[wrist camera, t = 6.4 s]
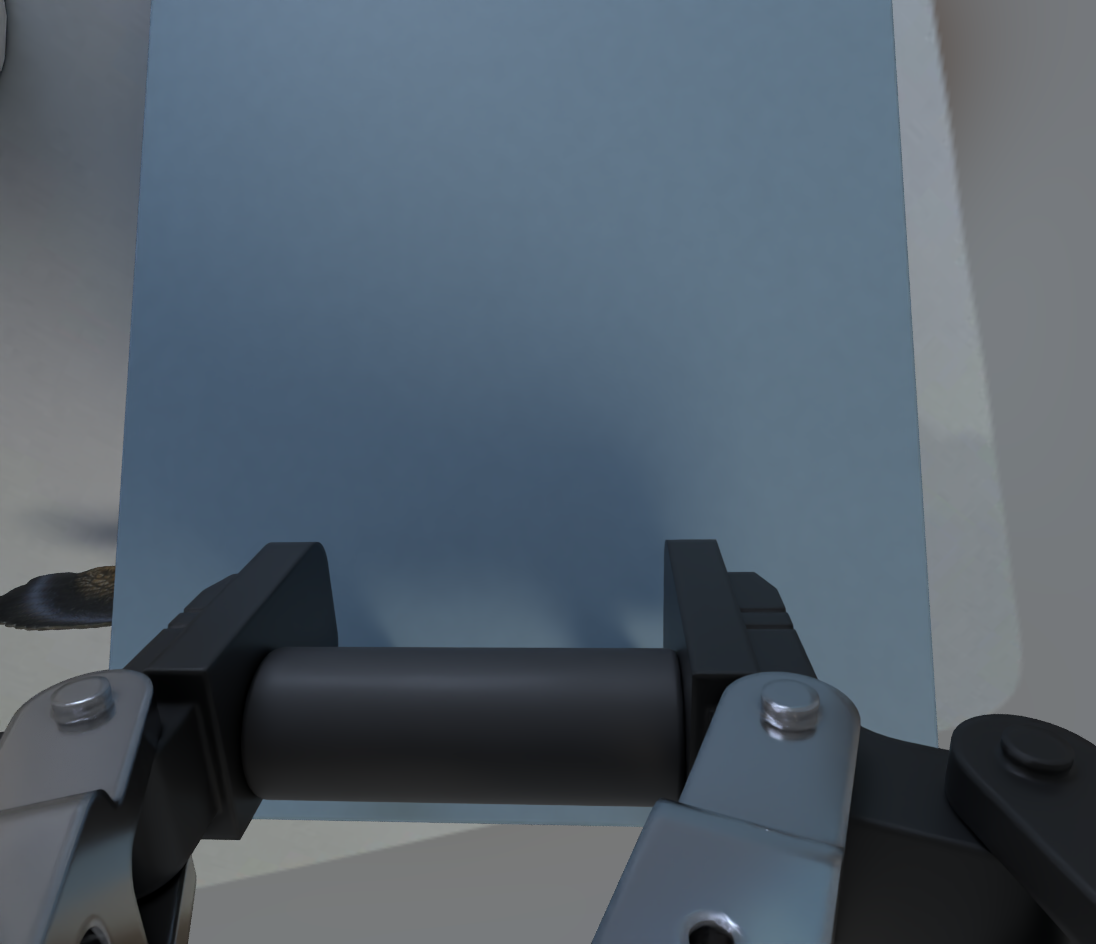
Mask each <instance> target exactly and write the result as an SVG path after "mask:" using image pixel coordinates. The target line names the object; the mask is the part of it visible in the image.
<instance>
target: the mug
mask: <svg viewBox="0 0 1096 944" xmlns="http://www.w3.org/2000/svg"><path fill="white" fill-rule="evenodd" d="M6 24H7V14H6V9H5V3H4V0H0V72H1V69H2V66H3V63H4V60H5V43H6Z"/></svg>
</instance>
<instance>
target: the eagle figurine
mask: <svg viewBox="0 0 1096 944" xmlns="http://www.w3.org/2000/svg"><path fill="white" fill-rule="evenodd" d="M115 567H116V566H104V567H98V568H94V569H91V570H88V571H85V572H82V573H71V572H67V573H55V574H48V575H44V576H39V577H36V578H33V579H31V580H30V581H29V582H28V583H27V584H26V585H22V586H20V587H17V588H14V589H13V590H11V591H9V592H8V593H6V594H5V595H3V596H0V625H4V624H5V626H6V627H15V629H25V630H27V631H31V630H38V631H43V630H64V629H73V628H74V629H87V628H99V627H107V626H112V615H113V599H114V583H115Z"/></svg>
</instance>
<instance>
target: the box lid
mask: <svg viewBox="0 0 1096 944" xmlns="http://www.w3.org/2000/svg"><path fill="white" fill-rule="evenodd" d="M679 539H716V541H717V543H718V546H719V549H720V552H721V555H722V558H723V561H724V564H725V567H726V570H727V572H755V573H757V574H758V575H759V576H761V577H762V578H763V579H765V580H766V581H767V582H769V583H770V584H771V585H773V586H774V587H775V588H777V590H778V592H779V594H780V597H781V599H782V601H783V603H784V605H785V608H786V612H788V614H789V616H790V619H791V621H792V623H793V628H794V629H795V630H796V632H797V634H798V636H799V638H800V641H801V643H802V645H803V647H804V649H805V652H806V654H807V656H808V658H809V660H810V663H811V665H812V667H813V669H814V672H815V674H816V676H817V678H818V680H821V681H823V682H825V683H828V684H830V685H832V686H833V687H835V688H837V689H838V690H840V691H841V692H842V693H844V694H845V695H846V696H847V697H848V698H849V699H850V700H851V701H852V702H853V703H854V704H855V706H856V708H857V709H858V711H859V714H860V717H861V726H862V727H864V728H867V729H869V730H871V731H873V732H876V733H879V734H882V735H884V736H887V737H891V738H895V739H899V740H903V741H907V742H912V743H917V744H921V745H926V746H931V747H936V748H938V733H937V717H936V701H935V685H934V669H933V653H932V637H931V621H930V605H929V589H928V572H927V556H926V540H925V524H924V508H923V492H922V476H921V460H920V444H919V428H918V412H917V395H916V379H915V363H914V347H913V331H912V315H911V299H910V283H909V267H908V251H907V234H906V218H905V202H904V186H903V170H902V154H901V138H900V122H899V106H898V90H897V74H896V57H895V41H894V25H893V9H892V0H152V1H151V16H150V32H149V48H148V63H147V79H146V95H145V111H144V126H143V142H142V158H141V174H140V189H139V205H138V221H137V237H136V252H135V268H134V284H133V300H132V315H131V331H130V347H129V363H128V378H127V394H126V410H125V426H124V441H123V457H122V473H121V489H120V504H119V520H118V536H117V552H116V567H115V583H114V599H113V615H112V630H111V646H110V662H109V670H111V669H123V668H124V667H125V666H126V665H127V664H128V663H129V662H130V661H131V660H132V659H133V658H134V657H135V656H136V655H137V654H138V653H139V652H140V651H141V650H142V649H143V648H144V647H145V646H146V645H147V644H148V643H149V642H150V641H151V640H152V639H153V638H155V637H156V636H157V635H158V634H159V633H160V632H161V631H162V630H163V629H167V628H168V624H169V623H170V622H171V621H172V620H173V619H174V618H175V617H176V616H177V615H178V614H179V613H184V608H185V607H186V606H187V605H188V604H189V603H190V602H191V601H192V600H193V599H194V598H195V597H196V596H197V595H199V594H200V593H201V592H202V591H203V590H204V589H206V588H208V587H210V586H212V585H213V584H215V583H217V582H219V581H221V580H223V579H224V578H226V577H228V576H230V575H232V574H238V573H239V572H240V571H241V570H242V569H243V568H244V567H245V566H246V565H247V564H248V563H249V562H250V561H251V559H252V558H253V557H254V556H255V555H256V554H257V553H258V552H259V551H260V550H261V549H262V548H263V547H264V546H265V545H266V544H268V543H270V542H319V543H321V544H322V545H323V547H324V549H325V551H326V555H327V560H328V566H329V574H330V581H331V588H332V595H333V602H334V610H335V617H336V624H337V631H338V647H280V648H278V649H275V650H273V651H271V652H270V653H268V654H267V655H266V656H265V657H264V659H263V660H262V661H261V663H260V665H259V666H258V668H257V670H256V672H255V674H254V676H253V679H252V682H251V684H250V687H249V691H248V694H247V698H246V702H245V707H244V712H243V719H242V728H241V758H242V766H243V771H244V775H245V778H246V781H247V784H248V786H249V788H250V789H251V791H252V792H253V793H254V794H255V795H257V796H258V797H260V798H262V799H263V800H262V802H261V804H260V806H259V807H258V809H257V811H256V813H255V814H254V816H253V818H252V819H279V820H329V821H379V822H430V823H480V824H531V825H532V824H533V825H535V824H536V825H581V826H632V827H633V826H634V827H644V825H645V822H646V820H647V818H648V816H649V814H650V812H651V810H652V808H653V806H654V804H655V803H656V802H657V800H658V799H659V798H662V797H663V798H667V799H670V800H674V801H677V802H678V801H679V799H680V796H681V794H682V791H683V789H684V786H685V776H686V738H685V714H684V698H683V687H682V677H681V670H680V664H679V660H678V657H677V654H676V652H675V651H674V650H672V649H669V648H663V601H664V546H665V540H679Z"/></svg>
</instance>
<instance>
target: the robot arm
mask: <svg viewBox="0 0 1096 944" xmlns="http://www.w3.org/2000/svg"><path fill="white" fill-rule="evenodd" d="M280 647H338V631H337V624H336V617H335V610H334V602H333V595H332V588H331V581H330V574H329V566H328V560H327V555H326V551H325V549H324V547H323V545H322V544H321V543H319V542H270V543H268V544H266V545H265V546H264V547H263V548H262V549H261V550H260V551H259V552H258V553H257V554H256V555H255V556H254V557H253V558H252V559H251V561H250V562H249V563H248V564H247V565H246V566H245V567H244V568H243V569H242V570H241V571H240V572H239V573H238V574H232V575H230V576H228V577H226V578H224V579H223V580H221V581H219V582H217V583H215V584H213V585H212V586H210V587H208V588H206V589H204V590H203V591H202V592H201V593H200V594H199V595H197V596H196V597H195V598H194V599H193V600H192V601H191V602H190V603H189V604H188V605H187V606H186V607H185V608H184V613H179V614H178V615H177V616H176V617H175V618H174V619H173V620H172V621H171V622H170V623H169V624H168V628H167V629H163V630H162V631H161V632H160V633H159V634H158V635H157V636H156V637H155V638H153V639H152V640H151V641H150V642H149V643H148V644H147V645H146V646H145V647H144V648H143V649H142V650H141V651H140V652H139V653H138V654H137V655H136V656H135V657H134V658H133V659H132V660H131V661H130V662H129V663H128V664H127V665H126V666H125V667H124V668H123V669H111V670H102V671H96V672H91V673H87V674H83V675H80V676H76V677H73V678H70V679H68V680H65V681H62V682H60V683H58V684H55V685H53V686H51V687H49V688H47V689H45V690H43V691H42V692H40V693H38V694H37V695H35V696H34V697H32V698H31V699H30V700H28V701H27V702H26V703H24V704H23V705H22V706H21V707H20V708H19V709H18V710H17V712H16V713H15V714H14V716H13V717H12V719H11V721H10V723H9V724H8V726H7V728H6V730H5V732H0V944H188V939H189V932H190V925H191V917H192V910H193V902H194V895H195V889H196V872H195V867H194V863H193V859H192V853H193V851H194V849H195V848H196V846H197V845H198V843H199V841H200V840H201V839H214V840H240V839H241V837H242V836H243V834H244V832H245V830H246V829H247V827H248V825H249V823H250V821H251V820H252V818H253V816H254V814H255V813H256V811H257V809H258V807H259V806H260V804H261V802H262V800H263V799H262V798H260V797H258V796H257V795H255V794H254V793H253V792H252V791H251V789H250V788H249V786H248V784H247V781H246V778H245V775H244V771H243V766H242V758H241V728H242V719H243V712H244V707H245V702H246V698H247V694H248V691H249V687H250V684H251V682H252V679H253V676H254V674H255V672H256V670H257V668H258V666H259V665H260V663H261V661H262V660H263V659H264V657H265V656H266V655H267V654H268V653H270V652H271V651H273V650H275V649H278V648H280ZM663 648H669V649H672V650H674V651H675V652H676V654H677V657H678V660H679V664H680V670H681V677H682V687H683V698H684V714H685V738H686V776H685V786H684V789H683V791H682V794H681V796H680V799H679V801H678V802H677V801H674V800H670V799H667V798H663V797H662V798H659V799H658V800H657V802H656V803H655V804H654V806H653V808H652V810H651V812H650V814H649V816H648V818H647V820H646V822H645V825H644V827H643V829H642V831H641V834H640V836H639V838H638V840H637V842H636V845H635V847H634V849H633V851H632V854H631V856H630V858H629V860H628V862H627V865H626V867H625V869H624V871H623V874H622V876H621V878H620V880H619V882H618V885H617V887H616V889H615V891H614V894H613V896H612V898H611V900H610V903H609V905H608V907H607V910H606V911H605V914H604V916H603V918H602V920H601V923H600V925H599V927H598V929H597V931H596V934H595V936H594V938H593V940H592V943H591V944H1096V746H1095V745H1094V744H1092V743H1091V742H1089V741H1087V740H1086V739H1084V738H1082V737H1080V736H1079V735H1077V734H1075V733H1073V732H1071V731H1068V730H1066V729H1064V728H1061V727H1059V726H1056V725H1053V724H1051V723H1047V722H1044V721H1041V720H1037V719H1033V718H1028V717H1023V716H1017V715H1008V714H990V715H982V716H977V717H973V718H970V719H968V720H965V721H964V722H962V723H961V724H959V725H958V726H957V727H956V729H955V730H954V732H953V734H952V737H951V743H950V750H945V749H940V748H936V747H931V746H926V745H921V744H917V743H912V742H907V741H903V740H899V739H895V738H891V737H887V736H884V735H882V734H879V733H876V732H873V731H871V730H869V729H867V728H864V727H862V726H861V717H860V714H859V711H858V709H857V708H856V706H855V704H854V703H853V702H852V701H851V700H850V699H849V698H848V697H847V696H846V695H845V694H844V693H842V692H841V691H840V690H838V689H837V688H835V687H833V686H832V685H830V684H828V683H825V682H823V681H821V680H818V678H817V676H816V674H815V672H814V669H813V667H812V665H811V663H810V660H809V658H808V656H807V654H806V652H805V649H804V647H803V645H802V643H801V641H800V638H799V636H798V634H797V632H796V630H795V629H794V628H793V623H792V621H791V619H790V616H789V614H788V612H786V608H785V605H784V603H783V601H782V599H781V597H780V594H779V592H778V590H777V588H775V587H774V586H773V585H771V584H770V583H769V582H767V581H766V580H765V579H763V578H762V577H761V576H759V575H758V574H757V573H755V572H727V570H726V567H725V564H724V561H723V558H722V555H721V552H720V549H719V546H718V543H717V541H716V539H679V540H665V546H664V601H663Z"/></svg>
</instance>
